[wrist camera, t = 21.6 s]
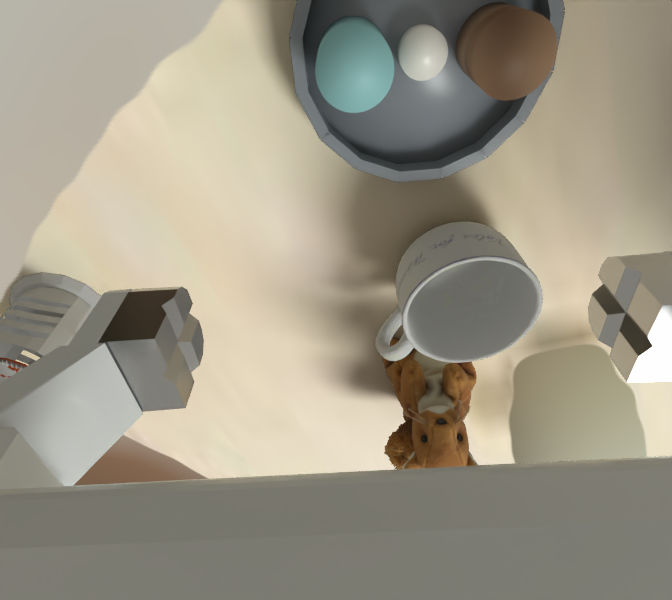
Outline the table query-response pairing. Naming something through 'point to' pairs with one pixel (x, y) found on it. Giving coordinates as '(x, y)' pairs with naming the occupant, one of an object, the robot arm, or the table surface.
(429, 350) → the teacup
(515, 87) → the walnut bead
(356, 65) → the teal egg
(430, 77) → the groove tray
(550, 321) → the table surface
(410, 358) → the stuffed squirrel
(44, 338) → the french press
